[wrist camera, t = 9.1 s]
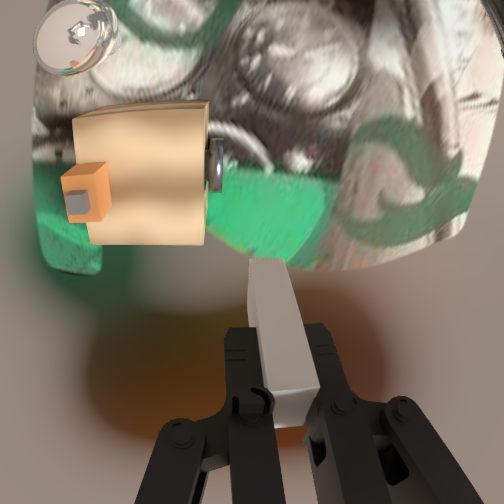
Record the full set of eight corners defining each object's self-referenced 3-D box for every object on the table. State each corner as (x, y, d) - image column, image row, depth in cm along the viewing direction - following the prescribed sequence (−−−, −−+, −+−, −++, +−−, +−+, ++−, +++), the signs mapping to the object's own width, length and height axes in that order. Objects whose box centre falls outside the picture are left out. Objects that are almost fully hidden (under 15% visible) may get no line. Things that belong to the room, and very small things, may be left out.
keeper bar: (76, 164, 22) (54, 181, 19) (106, 162, 22) (88, 178, 19) (82, 206, 24) (64, 228, 21) (112, 205, 24) (96, 228, 21)
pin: (99, 138, 28) (79, 151, 23) (223, 133, 29) (223, 145, 25) (104, 183, 30) (86, 203, 26) (222, 181, 32) (221, 201, 27)
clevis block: (104, 106, 26) (72, 119, 20) (208, 100, 27) (203, 108, 21) (114, 209, 33) (91, 244, 26) (207, 208, 34) (203, 245, 27)
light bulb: (107, 2, 20) (50, -23, 10) (157, 29, 23) (118, 6, 13) (70, 56, 22) (2, 60, 12) (117, 84, 25) (61, 95, 15)
